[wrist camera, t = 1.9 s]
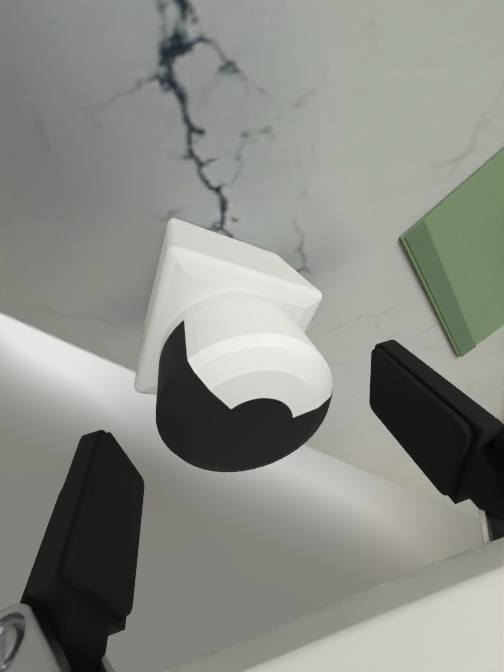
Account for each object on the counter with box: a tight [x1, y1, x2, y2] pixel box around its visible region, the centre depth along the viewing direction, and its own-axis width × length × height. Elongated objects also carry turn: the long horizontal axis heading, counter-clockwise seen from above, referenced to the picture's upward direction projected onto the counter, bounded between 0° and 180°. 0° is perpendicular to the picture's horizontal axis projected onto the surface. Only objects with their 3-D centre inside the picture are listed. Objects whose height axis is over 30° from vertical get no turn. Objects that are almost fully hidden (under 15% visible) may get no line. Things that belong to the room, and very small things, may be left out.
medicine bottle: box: [134, 218, 333, 472], centre depth 14 cm, size 7×7×12 cm
